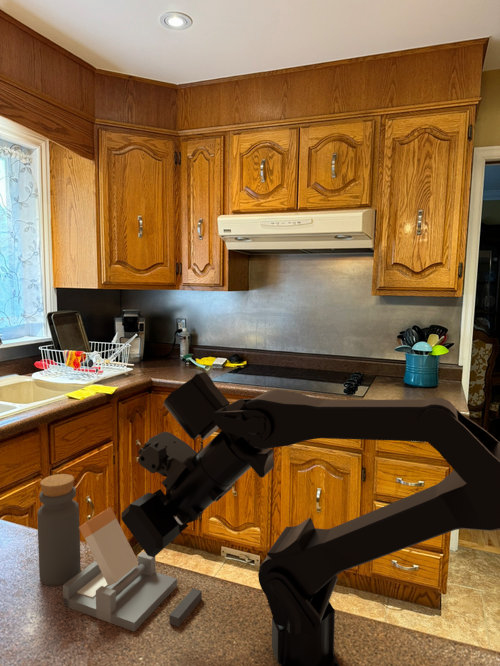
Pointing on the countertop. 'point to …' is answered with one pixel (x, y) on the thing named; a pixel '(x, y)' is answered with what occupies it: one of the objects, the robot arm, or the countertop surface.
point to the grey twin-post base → (130, 605)
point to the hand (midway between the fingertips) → (147, 532)
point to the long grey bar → (185, 607)
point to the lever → (111, 550)
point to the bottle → (58, 530)
